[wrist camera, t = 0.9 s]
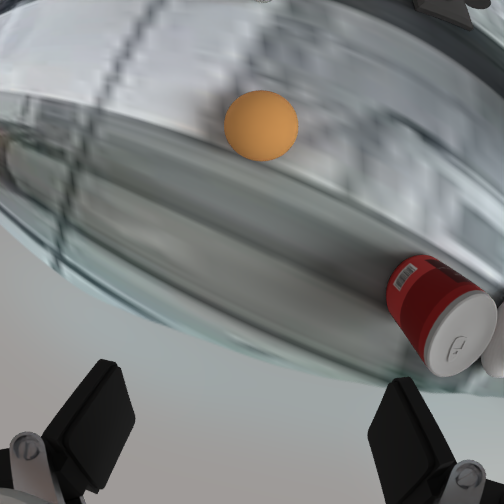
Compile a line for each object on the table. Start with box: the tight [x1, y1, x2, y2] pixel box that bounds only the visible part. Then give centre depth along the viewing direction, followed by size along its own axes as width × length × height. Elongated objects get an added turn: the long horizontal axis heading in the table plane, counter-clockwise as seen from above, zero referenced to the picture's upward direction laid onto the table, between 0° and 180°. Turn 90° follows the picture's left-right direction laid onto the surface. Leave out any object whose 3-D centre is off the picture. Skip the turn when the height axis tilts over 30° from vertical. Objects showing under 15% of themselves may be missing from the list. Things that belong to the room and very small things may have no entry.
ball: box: [224, 90, 298, 161], centre depth 22 cm, size 6×6×6 cm
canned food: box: [386, 255, 497, 377], centre depth 22 cm, size 8×8×11 cm
